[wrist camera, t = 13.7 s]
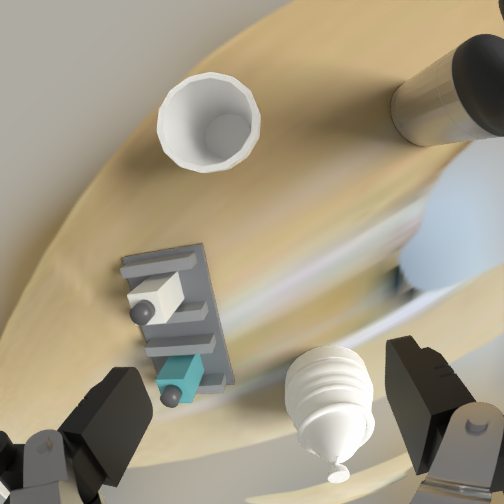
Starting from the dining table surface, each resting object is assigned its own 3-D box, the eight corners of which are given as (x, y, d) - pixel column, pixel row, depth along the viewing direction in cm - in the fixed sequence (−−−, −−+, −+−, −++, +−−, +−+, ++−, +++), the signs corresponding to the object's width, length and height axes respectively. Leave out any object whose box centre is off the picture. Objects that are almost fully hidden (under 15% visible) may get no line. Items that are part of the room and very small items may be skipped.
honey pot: (361, 407, 47) (383, 489, 30) (285, 412, 48) (283, 498, 31) (370, 342, 44) (407, 422, 27) (284, 347, 46) (283, 434, 28)
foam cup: (198, 178, 41) (163, 180, 28) (188, 110, 39) (151, 86, 26) (271, 166, 40) (267, 163, 27) (260, 97, 38) (251, 64, 25)
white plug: (177, 270, 43) (150, 297, 33) (184, 298, 44) (159, 330, 34) (151, 274, 44) (119, 301, 34) (158, 301, 44) (129, 332, 35)
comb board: (202, 243, 43) (195, 250, 39) (234, 380, 48) (231, 396, 44) (125, 256, 44) (112, 263, 41) (164, 384, 49) (157, 398, 45)
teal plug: (198, 348, 46) (179, 388, 36) (204, 370, 47) (188, 412, 37) (173, 350, 46) (150, 388, 36) (180, 371, 47) (159, 411, 37)
